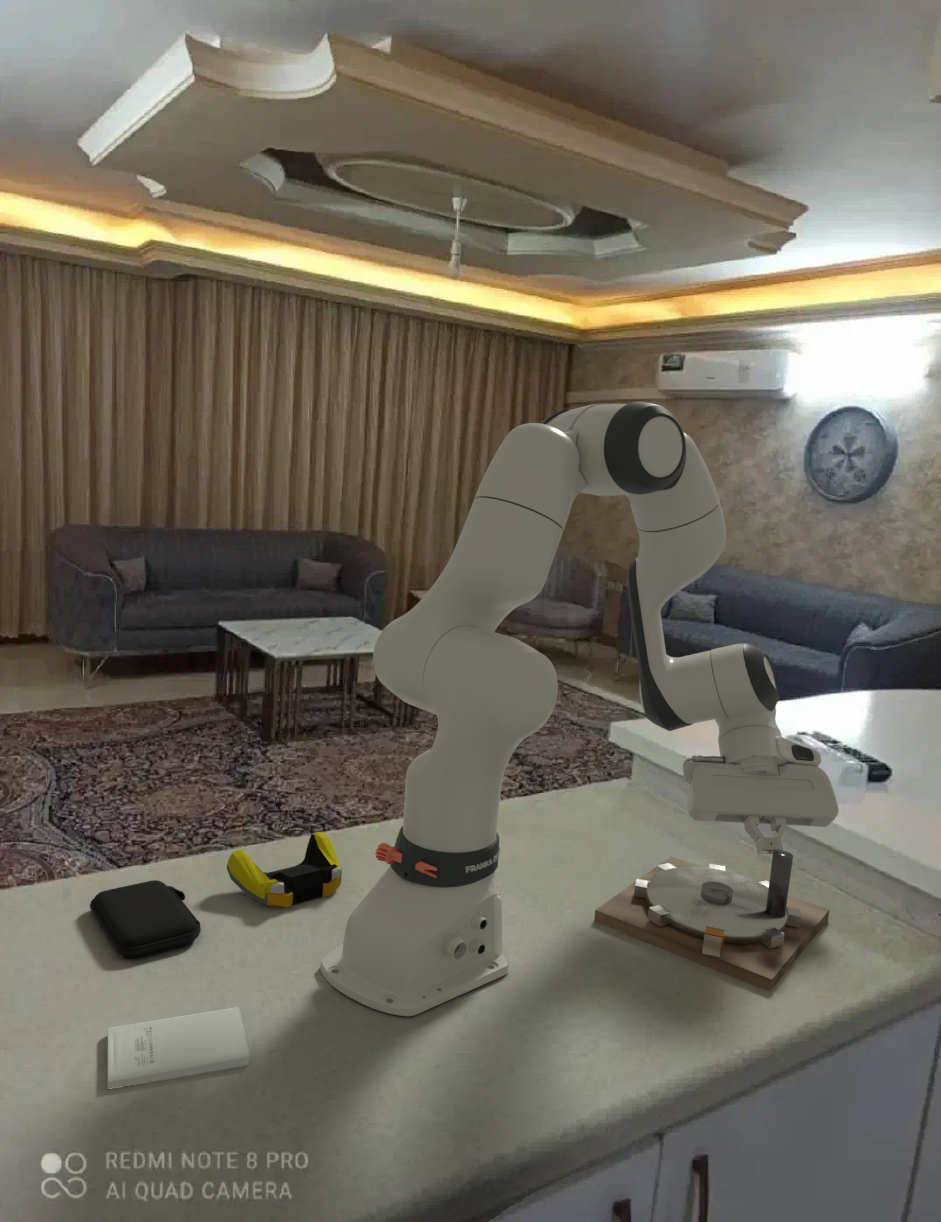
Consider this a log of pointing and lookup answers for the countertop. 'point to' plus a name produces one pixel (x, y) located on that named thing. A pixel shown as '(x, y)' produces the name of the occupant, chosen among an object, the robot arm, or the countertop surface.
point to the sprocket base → (731, 953)
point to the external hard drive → (176, 1047)
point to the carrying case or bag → (145, 919)
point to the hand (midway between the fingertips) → (770, 852)
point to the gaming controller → (289, 876)
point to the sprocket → (722, 902)
